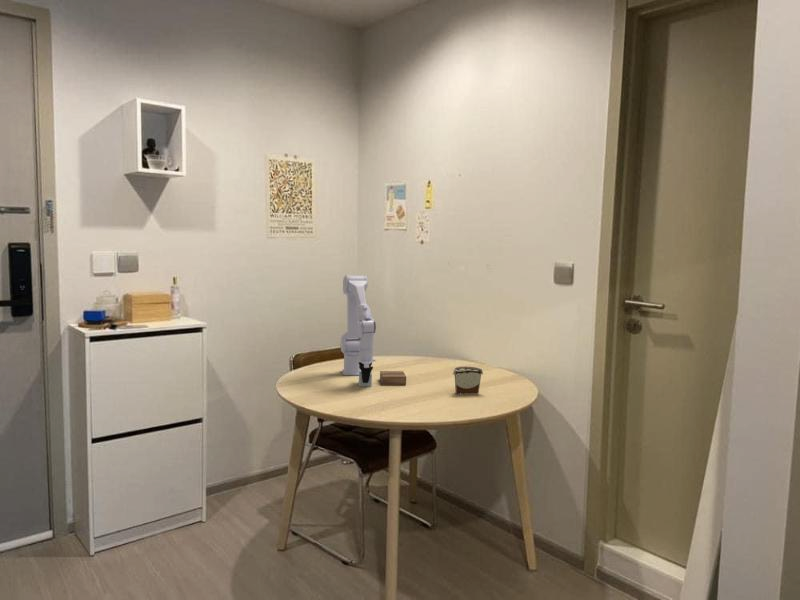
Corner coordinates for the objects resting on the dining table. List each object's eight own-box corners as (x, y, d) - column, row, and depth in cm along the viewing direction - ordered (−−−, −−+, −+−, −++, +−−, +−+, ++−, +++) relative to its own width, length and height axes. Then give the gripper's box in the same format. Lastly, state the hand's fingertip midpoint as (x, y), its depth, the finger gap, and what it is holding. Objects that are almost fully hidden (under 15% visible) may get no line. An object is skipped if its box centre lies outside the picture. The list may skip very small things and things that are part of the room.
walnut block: (379, 380, 258) (380, 371, 258) (402, 380, 259) (403, 371, 259) (382, 386, 248) (382, 376, 248) (405, 386, 250) (406, 376, 249)
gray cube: (358, 383, 250) (359, 371, 249) (370, 383, 250) (371, 371, 250) (359, 386, 245) (359, 374, 244) (371, 386, 245) (371, 374, 245)
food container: (476, 389, 246) (477, 365, 245) (481, 393, 241) (483, 369, 239) (447, 390, 243) (449, 366, 242) (452, 394, 238) (454, 369, 236)
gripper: (377, 352, 239) (375, 385, 241) (374, 345, 253) (373, 376, 255) (359, 352, 238) (358, 385, 240) (358, 345, 253) (357, 376, 254)
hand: (365, 381), depth 247 cm, fingers closed on gray cube, 5 cm apart
